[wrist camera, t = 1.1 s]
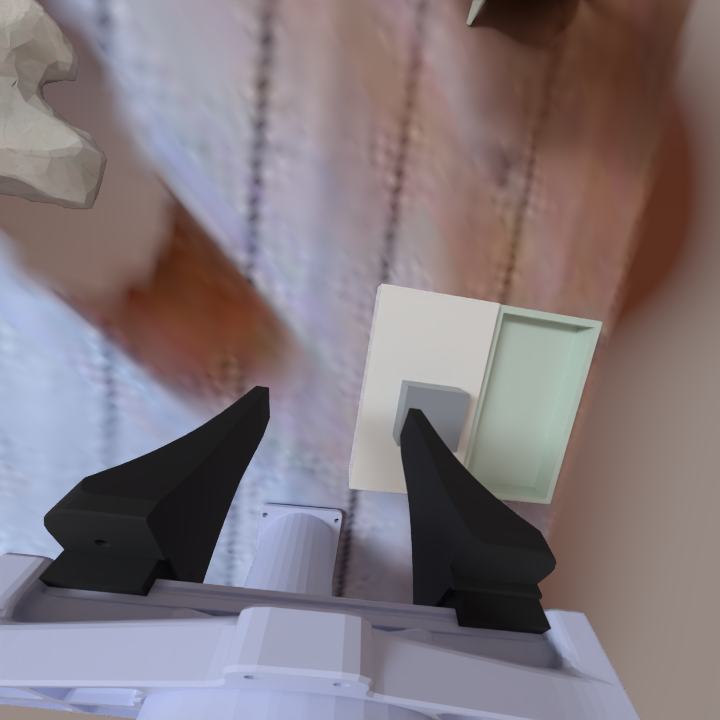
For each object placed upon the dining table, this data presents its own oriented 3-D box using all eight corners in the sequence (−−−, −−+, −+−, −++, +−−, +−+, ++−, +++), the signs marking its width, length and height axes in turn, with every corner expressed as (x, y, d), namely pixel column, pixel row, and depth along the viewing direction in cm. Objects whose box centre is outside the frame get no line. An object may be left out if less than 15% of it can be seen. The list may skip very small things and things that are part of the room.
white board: (445, 481, 26) (455, 498, 24) (348, 472, 25) (349, 488, 23) (483, 305, 24) (500, 303, 21) (377, 287, 23) (382, 283, 20)
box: (535, 490, 27) (550, 504, 25) (446, 482, 26) (455, 495, 24) (581, 321, 25) (602, 321, 23) (485, 305, 24) (498, 304, 22)
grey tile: (446, 441, 23) (456, 452, 21) (392, 434, 22) (397, 446, 21) (458, 387, 22) (469, 394, 20) (402, 379, 22) (408, 385, 20)
